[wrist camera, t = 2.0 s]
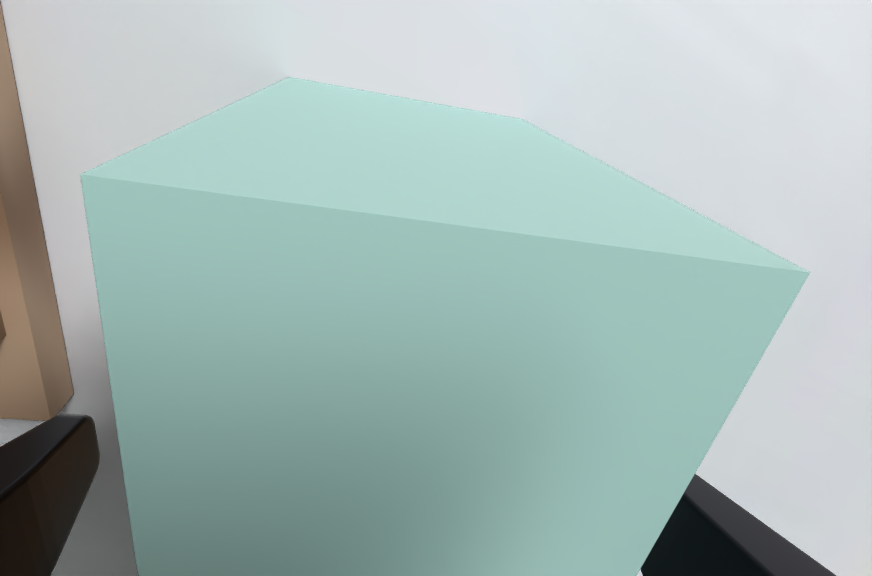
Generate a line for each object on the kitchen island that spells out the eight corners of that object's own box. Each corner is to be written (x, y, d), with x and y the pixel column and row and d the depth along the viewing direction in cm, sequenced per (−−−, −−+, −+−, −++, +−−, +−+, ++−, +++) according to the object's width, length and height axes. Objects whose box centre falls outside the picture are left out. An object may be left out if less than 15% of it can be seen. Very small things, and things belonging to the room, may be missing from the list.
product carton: (440, 449, 15) (500, 812, 8) (263, 442, 14) (154, 846, 7) (521, 118, 11) (809, 272, 4) (274, 73, 10) (20, 166, 3)
